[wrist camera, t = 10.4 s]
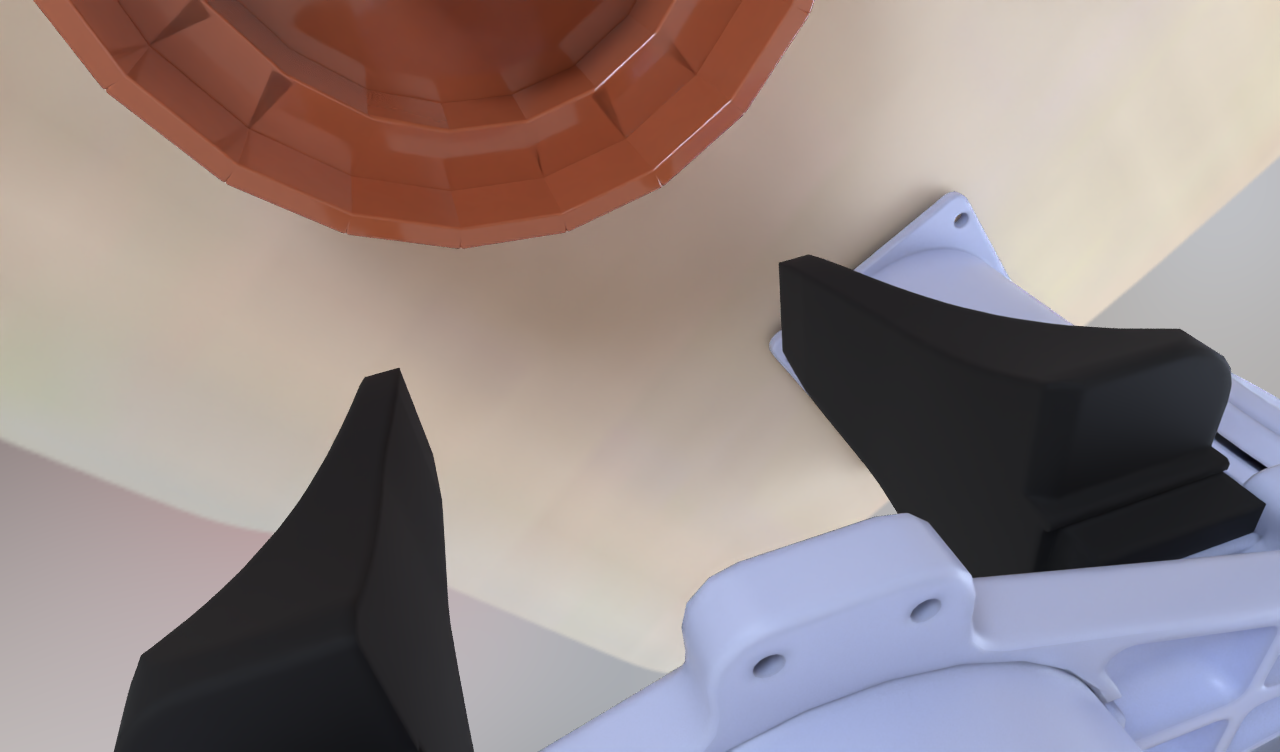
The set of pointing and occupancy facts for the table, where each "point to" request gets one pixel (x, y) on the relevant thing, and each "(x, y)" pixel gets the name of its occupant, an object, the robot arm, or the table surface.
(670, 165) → the bowl
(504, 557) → the table surface
